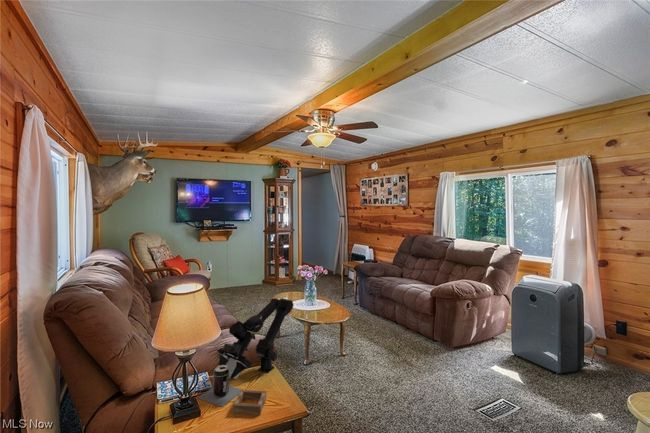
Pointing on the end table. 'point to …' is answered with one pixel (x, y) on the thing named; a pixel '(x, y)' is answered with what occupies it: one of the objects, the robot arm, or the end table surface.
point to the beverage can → (221, 380)
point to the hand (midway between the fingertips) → (224, 375)
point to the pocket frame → (249, 408)
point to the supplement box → (232, 367)
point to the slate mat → (221, 400)
